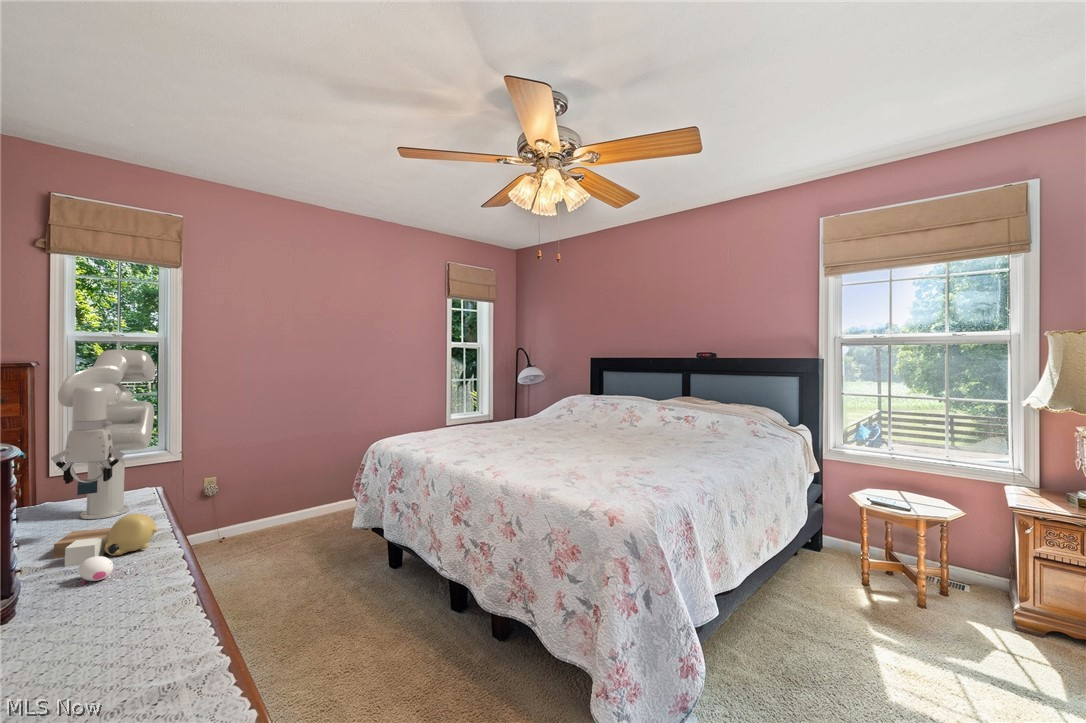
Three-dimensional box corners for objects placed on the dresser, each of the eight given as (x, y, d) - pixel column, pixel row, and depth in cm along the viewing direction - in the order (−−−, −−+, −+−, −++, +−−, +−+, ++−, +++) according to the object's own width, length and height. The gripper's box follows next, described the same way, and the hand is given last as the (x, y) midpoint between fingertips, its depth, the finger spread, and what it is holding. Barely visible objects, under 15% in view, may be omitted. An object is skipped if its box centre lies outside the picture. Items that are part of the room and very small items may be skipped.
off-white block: (75, 558, 128) (76, 540, 128) (103, 554, 130) (104, 537, 130) (64, 566, 122) (65, 548, 122) (94, 563, 125) (94, 544, 125)
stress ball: (113, 591, 116) (132, 564, 120) (82, 585, 110) (102, 556, 114) (94, 585, 119) (112, 558, 122) (62, 579, 112) (82, 551, 116)
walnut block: (72, 545, 136) (72, 531, 136) (115, 540, 140) (116, 527, 140) (53, 558, 127) (53, 544, 127) (100, 553, 131) (101, 539, 131)
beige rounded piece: (128, 558, 136) (91, 540, 131) (163, 521, 142) (130, 503, 137) (130, 568, 129) (92, 550, 124) (167, 529, 135) (132, 510, 130)
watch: (105, 491, 143) (106, 456, 142) (68, 496, 137) (69, 459, 137) (106, 487, 147) (106, 453, 147) (70, 491, 141) (70, 456, 141)
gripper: (130, 423, 149) (129, 476, 149) (58, 424, 141) (56, 480, 142) (120, 426, 142) (119, 482, 142) (44, 428, 134) (43, 487, 135)
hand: (88, 481), depth 142 cm, fingers closed on watch, 8 cm apart
